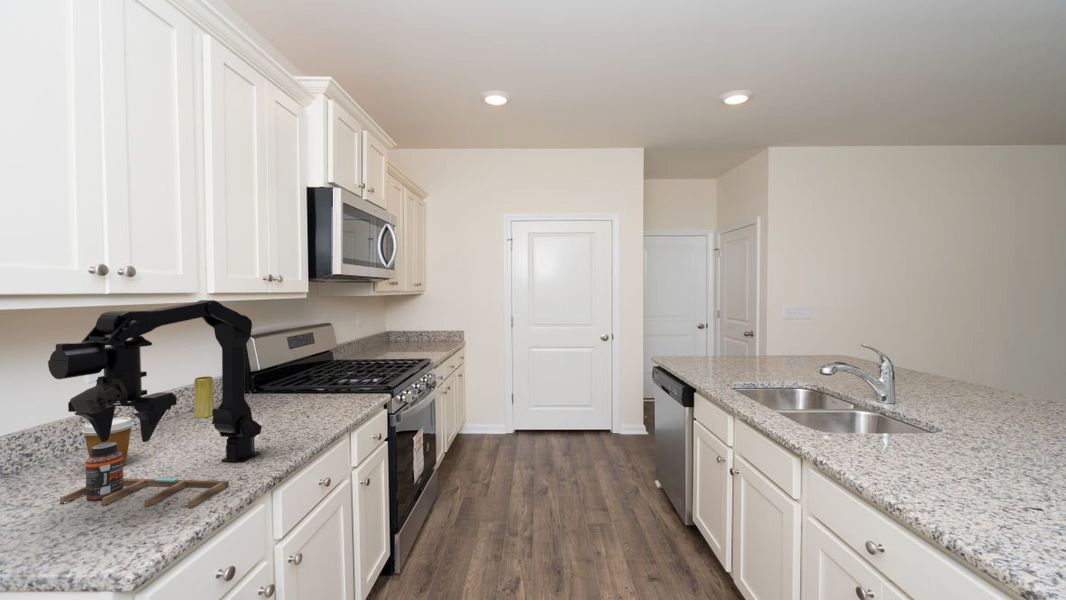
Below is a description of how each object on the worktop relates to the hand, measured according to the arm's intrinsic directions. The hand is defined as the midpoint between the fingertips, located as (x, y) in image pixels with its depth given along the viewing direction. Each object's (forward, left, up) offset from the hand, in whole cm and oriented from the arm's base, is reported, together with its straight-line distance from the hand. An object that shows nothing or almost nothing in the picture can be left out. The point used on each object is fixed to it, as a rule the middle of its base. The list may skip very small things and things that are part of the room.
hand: (125, 441), depth 90 cm
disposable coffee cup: (-18, -25, -14) cm, 34 cm away
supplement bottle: (-4, -10, -14) cm, 17 cm away
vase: (-63, -39, -14) cm, 75 cm away
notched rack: (-4, 0, -14) cm, 14 cm away
